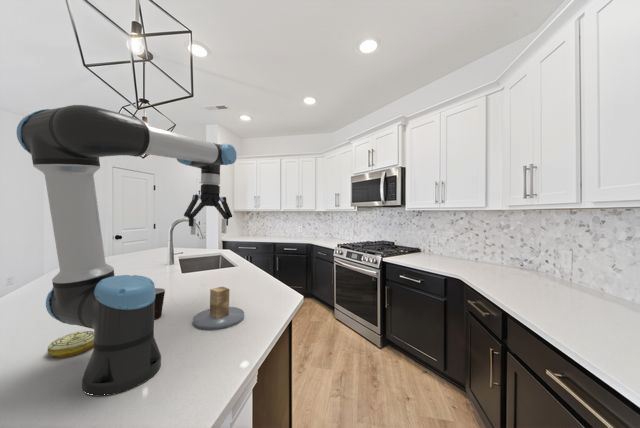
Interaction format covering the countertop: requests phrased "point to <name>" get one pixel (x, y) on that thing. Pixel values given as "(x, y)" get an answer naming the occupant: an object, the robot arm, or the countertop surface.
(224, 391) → the countertop surface
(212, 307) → the oak block
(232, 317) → the dish
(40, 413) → the countertop surface
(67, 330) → the countertop surface
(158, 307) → the coffee mug
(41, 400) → the countertop surface
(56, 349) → the decorated donut
